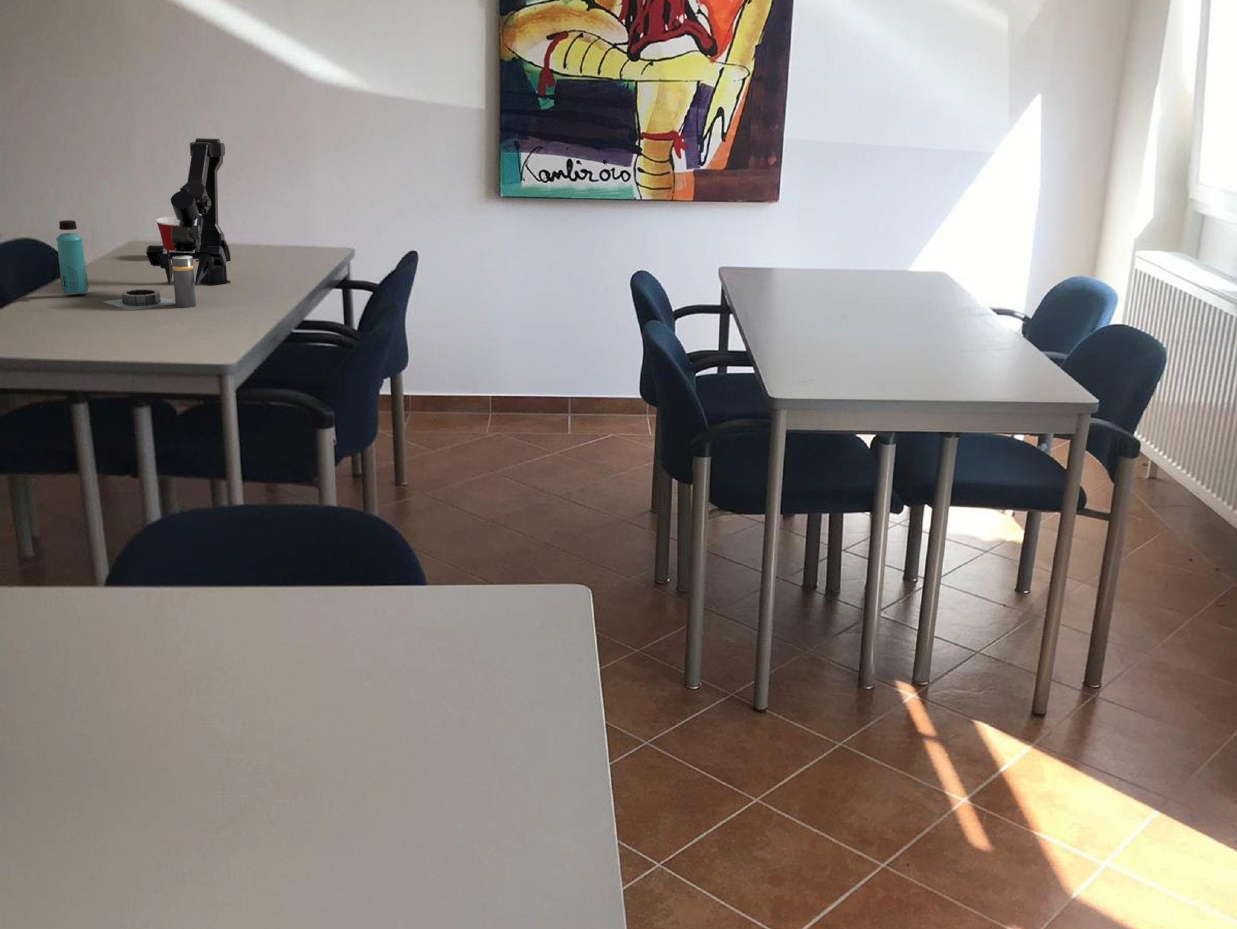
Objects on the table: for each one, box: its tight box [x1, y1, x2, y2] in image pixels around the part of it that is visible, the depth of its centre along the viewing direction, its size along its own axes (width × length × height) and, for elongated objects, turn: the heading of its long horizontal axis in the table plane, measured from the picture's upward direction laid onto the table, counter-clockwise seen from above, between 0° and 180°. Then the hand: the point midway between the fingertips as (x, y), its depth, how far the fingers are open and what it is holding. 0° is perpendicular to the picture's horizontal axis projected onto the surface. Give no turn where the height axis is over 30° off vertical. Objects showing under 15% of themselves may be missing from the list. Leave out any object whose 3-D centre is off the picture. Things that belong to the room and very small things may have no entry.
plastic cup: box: [155, 216, 180, 261], centre depth 396 cm, size 11×11×12 cm
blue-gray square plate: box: [102, 296, 176, 311], centre depth 333 cm, size 14×14×1 cm
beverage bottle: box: [56, 219, 89, 295], centre depth 336 cm, size 6×7×20 cm
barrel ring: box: [121, 288, 161, 306], centre depth 333 cm, size 9×9×2 cm
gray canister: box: [171, 256, 197, 309], centre depth 329 cm, size 5×5×13 cm
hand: (182, 283), depth 327 cm, fingers open, 6 cm apart
